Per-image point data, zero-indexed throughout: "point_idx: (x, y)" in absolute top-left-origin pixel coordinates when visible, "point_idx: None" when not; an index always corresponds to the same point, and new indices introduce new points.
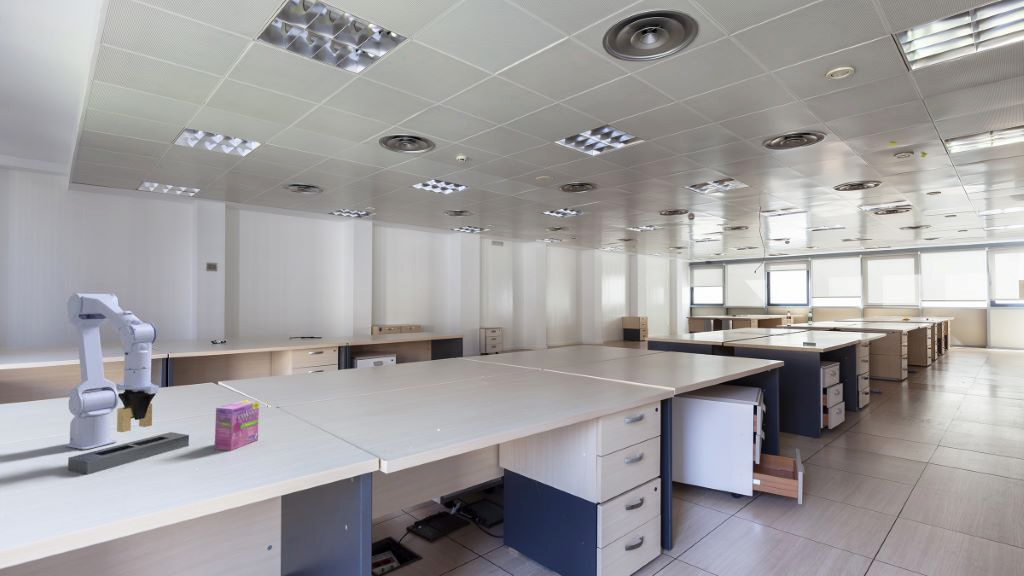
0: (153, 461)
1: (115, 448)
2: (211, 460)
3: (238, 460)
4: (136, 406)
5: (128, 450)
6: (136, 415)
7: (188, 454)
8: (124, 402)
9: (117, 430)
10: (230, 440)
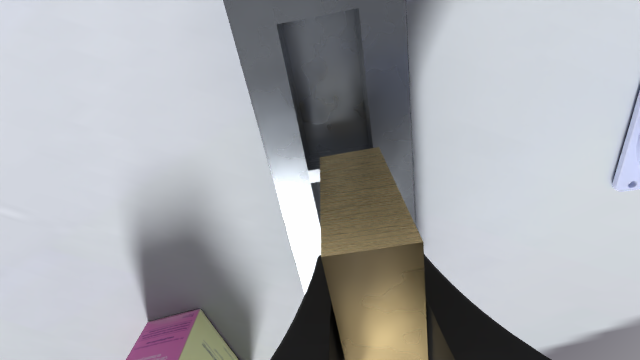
0: (209, 169)
1: (369, 112)
2: (78, 263)
3: (25, 297)
4: (284, 340)
5: (269, 131)
6: (311, 277)
7: (205, 254)
8: (471, 338)
9: (376, 150)
10: (132, 350)
